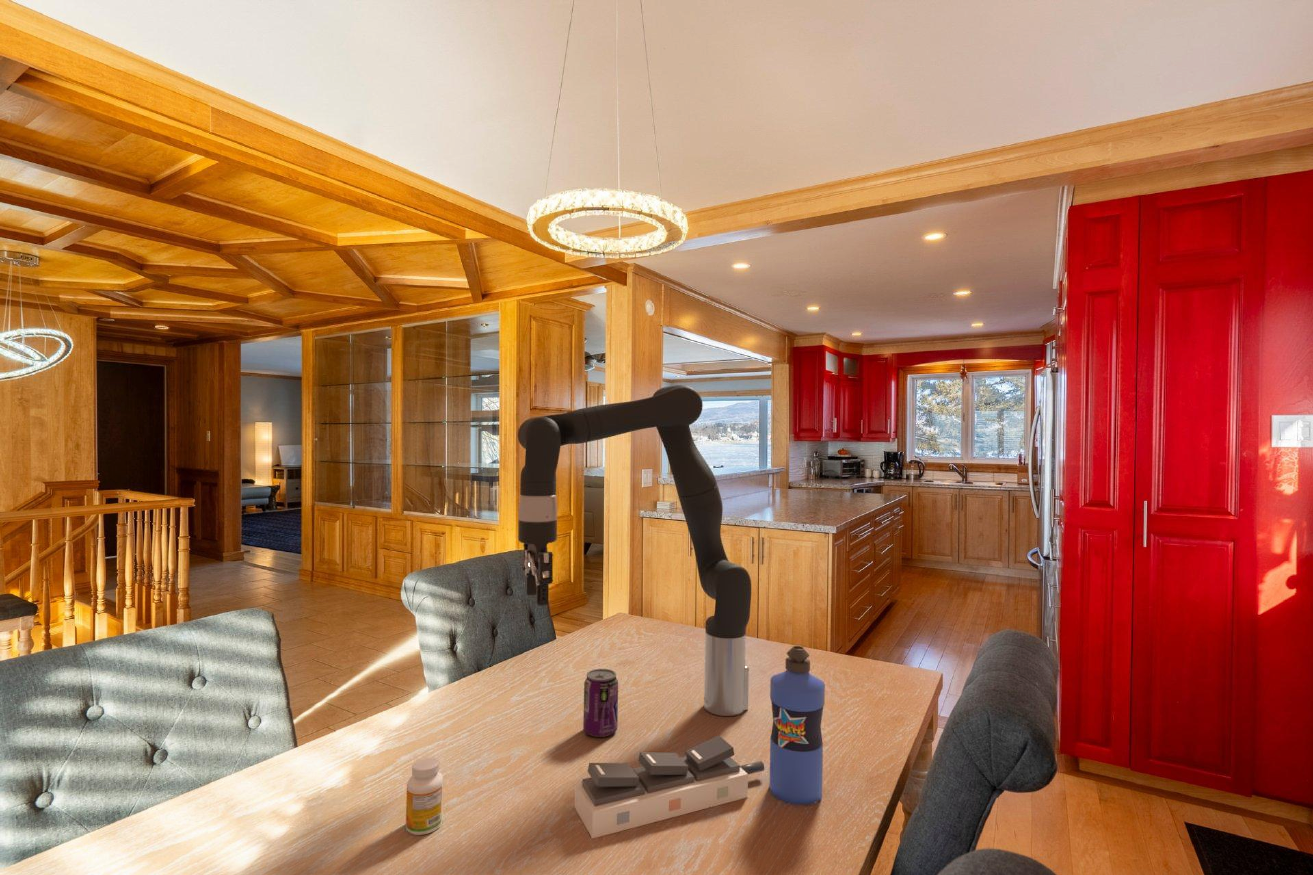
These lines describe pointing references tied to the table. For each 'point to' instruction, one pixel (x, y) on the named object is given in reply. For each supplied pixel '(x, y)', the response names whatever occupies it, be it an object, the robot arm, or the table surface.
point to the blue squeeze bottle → (796, 732)
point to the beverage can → (600, 703)
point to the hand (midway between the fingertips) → (536, 599)
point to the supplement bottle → (424, 797)
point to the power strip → (660, 796)
